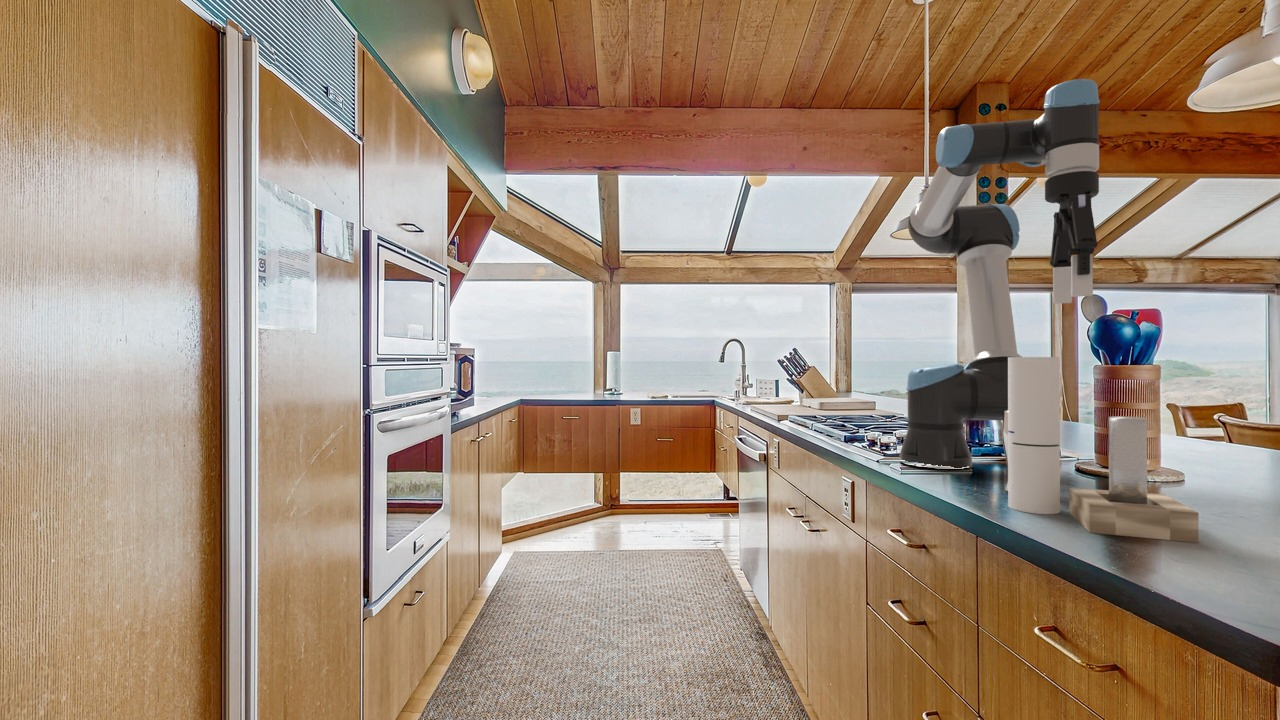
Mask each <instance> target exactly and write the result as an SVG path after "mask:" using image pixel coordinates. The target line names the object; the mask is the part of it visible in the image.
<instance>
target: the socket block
mask: <svg viewBox="0 0 1280 720" xmlns="http://www.w3.org/2000/svg"><path fill="white" fill-rule="evenodd" d="M1068 489H1069V490H1068V491H1069V492H1068V493H1069V495H1068V497H1069V499H1068V500H1069V501H1068V503H1069V504H1068V505H1069V507H1068V510H1069V515H1071V516H1072V517H1073V518H1074V519H1075V520H1076V521H1077V522H1078V523H1079V524H1080V525H1081V526H1082V527H1083V528H1085V530H1086V531H1088V533H1090V534H1100V535H1110V536H1111V535H1112V536H1122V537H1134V538H1143V539H1144V538H1145V539H1156V540H1166V541H1177V542H1187V543H1188V542H1189V543H1199V512H1197V511H1195V510H1194V509H1192V508H1191V507H1188V506H1186V505H1185V504H1182V502H1180V501H1177V500H1175V499H1174V498H1171V496H1170V497H1169V496H1168V495H1166V494H1164V493H1162V494H1161V493H1148V492H1147V505H1145V504H1131V503H1118V502H1109V489H1108V490H1107V489H1106V490H1104V489H1091V488H1079V487H1077V488H1076V487H1075V488H1074V487H1068Z"/></svg>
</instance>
